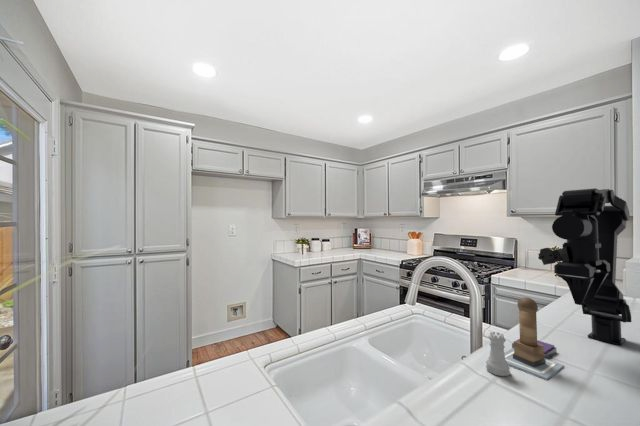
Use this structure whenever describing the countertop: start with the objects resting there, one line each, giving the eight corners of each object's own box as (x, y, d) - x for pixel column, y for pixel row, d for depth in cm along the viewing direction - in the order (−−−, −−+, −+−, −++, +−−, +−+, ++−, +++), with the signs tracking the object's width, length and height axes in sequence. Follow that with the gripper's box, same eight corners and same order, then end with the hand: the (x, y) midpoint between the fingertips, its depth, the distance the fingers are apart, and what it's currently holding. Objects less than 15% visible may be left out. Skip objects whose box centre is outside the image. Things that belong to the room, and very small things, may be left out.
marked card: (513, 349, 69) (513, 347, 69) (564, 366, 60) (564, 364, 60) (494, 359, 64) (494, 357, 64) (546, 380, 55) (546, 377, 55)
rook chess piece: (514, 378, 56) (513, 339, 56) (490, 376, 57) (489, 337, 57) (504, 367, 60) (503, 331, 60) (482, 365, 61) (481, 329, 61)
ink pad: (523, 342, 73) (523, 335, 73) (556, 352, 67) (556, 345, 68) (512, 348, 70) (511, 341, 70) (545, 359, 64) (545, 352, 64)
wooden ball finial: (524, 355, 65) (523, 294, 66) (545, 363, 61) (543, 299, 62) (512, 358, 63) (511, 296, 64) (533, 367, 59) (531, 301, 60)
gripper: (554, 237, 79) (556, 290, 78) (528, 238, 69) (529, 299, 68) (609, 238, 70) (612, 299, 69) (587, 240, 60) (590, 311, 59)
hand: (584, 301), depth 67 cm, fingers open, 9 cm apart
